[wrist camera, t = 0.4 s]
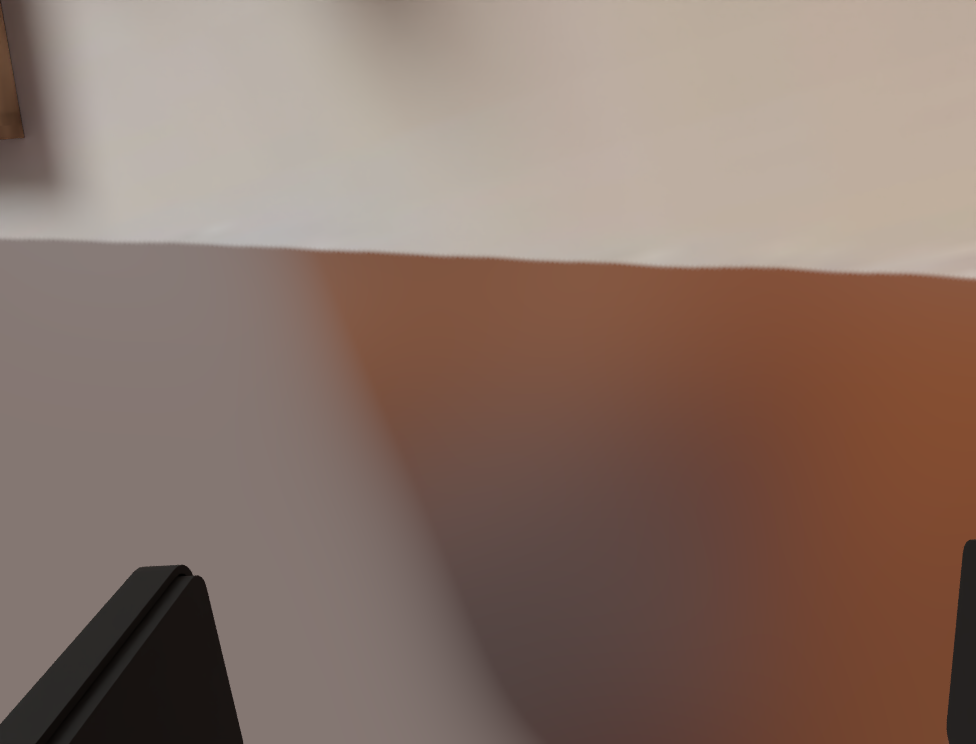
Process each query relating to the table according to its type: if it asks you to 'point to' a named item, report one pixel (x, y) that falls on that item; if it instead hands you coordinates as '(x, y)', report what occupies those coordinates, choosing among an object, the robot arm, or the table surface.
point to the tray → (8, 92)
